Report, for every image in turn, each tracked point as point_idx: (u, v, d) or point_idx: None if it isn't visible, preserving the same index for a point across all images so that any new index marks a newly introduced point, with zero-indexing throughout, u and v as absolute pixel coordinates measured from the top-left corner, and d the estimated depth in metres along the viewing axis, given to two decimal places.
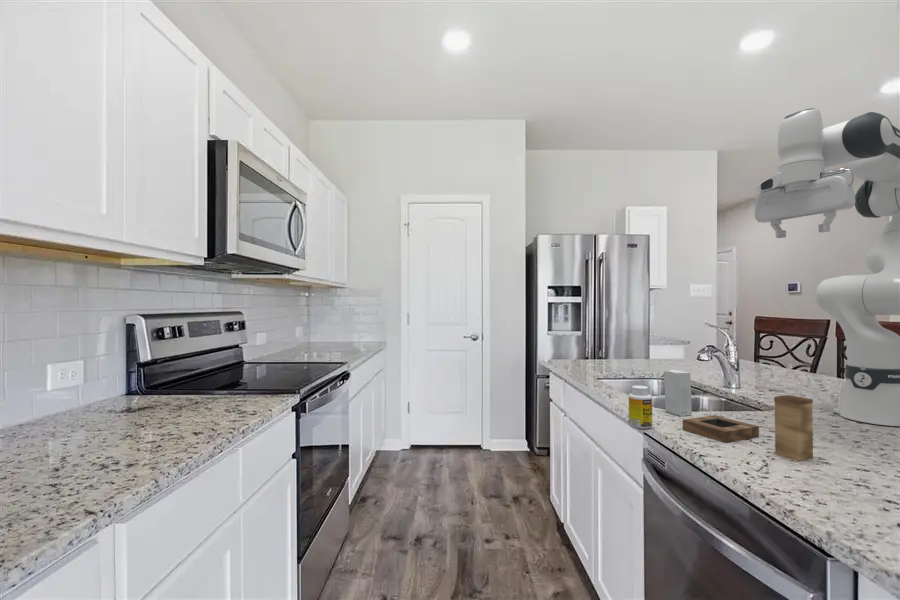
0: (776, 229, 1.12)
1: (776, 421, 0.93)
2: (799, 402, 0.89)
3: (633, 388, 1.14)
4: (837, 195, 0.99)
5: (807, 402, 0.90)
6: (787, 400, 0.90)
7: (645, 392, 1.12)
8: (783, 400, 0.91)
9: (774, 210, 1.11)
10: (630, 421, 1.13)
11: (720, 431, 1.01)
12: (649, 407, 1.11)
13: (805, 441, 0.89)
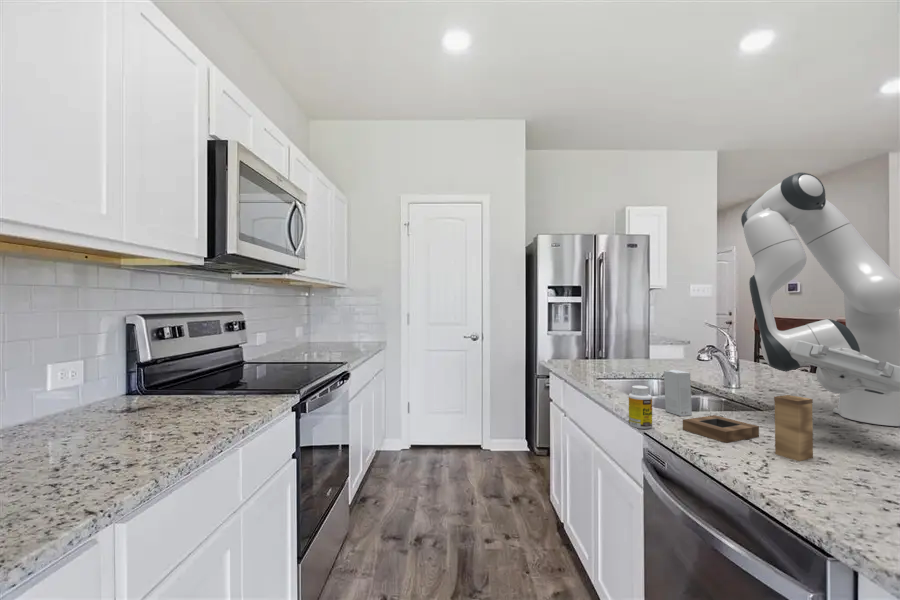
0: (883, 372, 0.89)
1: (776, 421, 0.93)
2: (799, 402, 0.89)
3: (633, 388, 1.14)
4: (798, 358, 1.02)
5: (807, 402, 0.90)
6: (787, 400, 0.90)
7: (645, 392, 1.12)
8: (783, 400, 0.91)
9: (876, 379, 0.93)
10: (630, 421, 1.13)
11: (720, 431, 1.01)
12: (649, 407, 1.11)
13: (805, 441, 0.89)
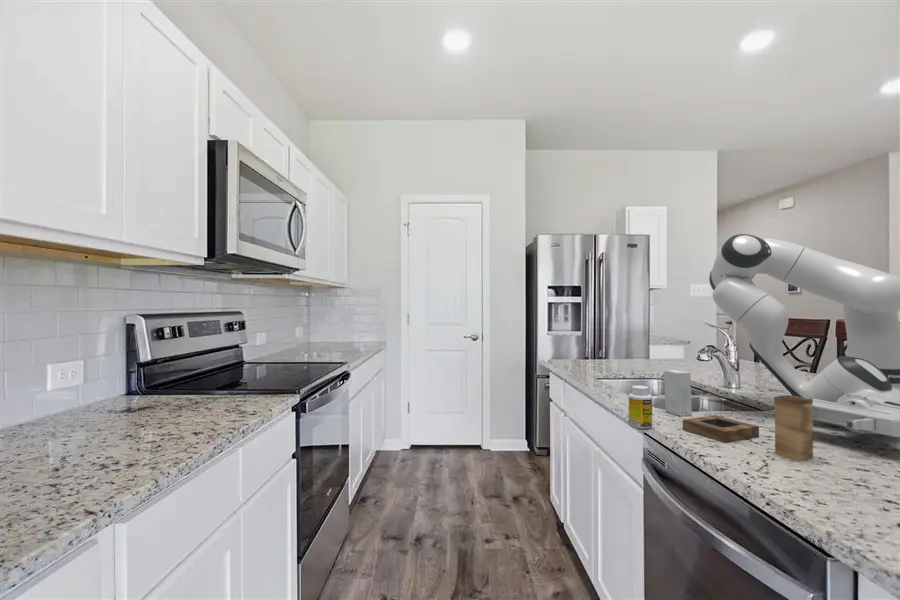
0: None
1: (776, 421, 0.93)
2: (799, 402, 0.89)
3: (633, 388, 1.14)
4: None
5: (807, 402, 0.90)
6: (787, 400, 0.90)
7: (645, 392, 1.12)
8: (783, 400, 0.91)
9: None
10: (630, 421, 1.13)
11: (720, 431, 1.01)
12: (649, 407, 1.11)
13: (805, 441, 0.89)
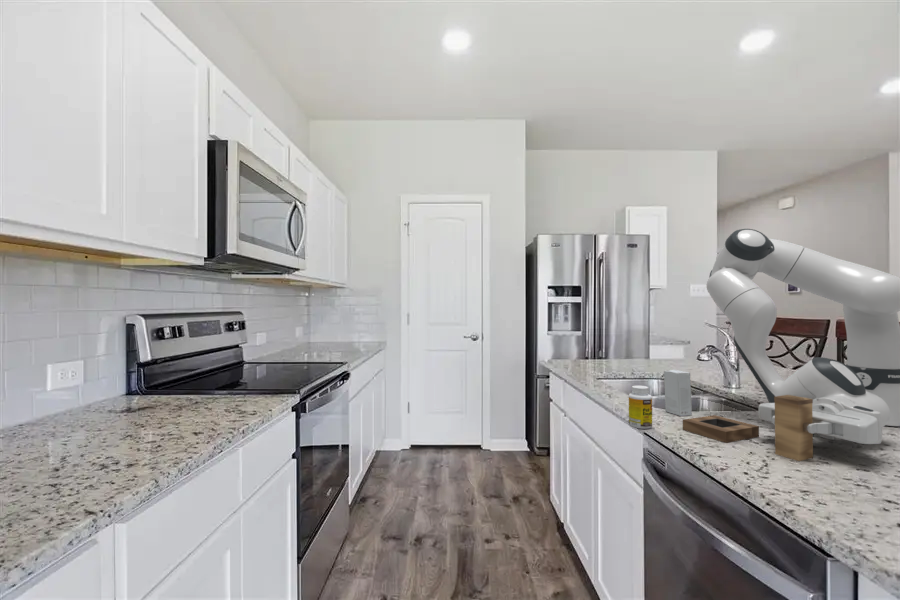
0: None
1: (776, 421, 0.93)
2: (799, 402, 0.89)
3: (633, 388, 1.14)
4: None
5: (807, 402, 0.90)
6: (787, 400, 0.90)
7: (645, 392, 1.12)
8: (783, 400, 0.91)
9: None
10: (630, 421, 1.13)
11: (720, 431, 1.01)
12: (649, 407, 1.11)
13: (805, 441, 0.89)
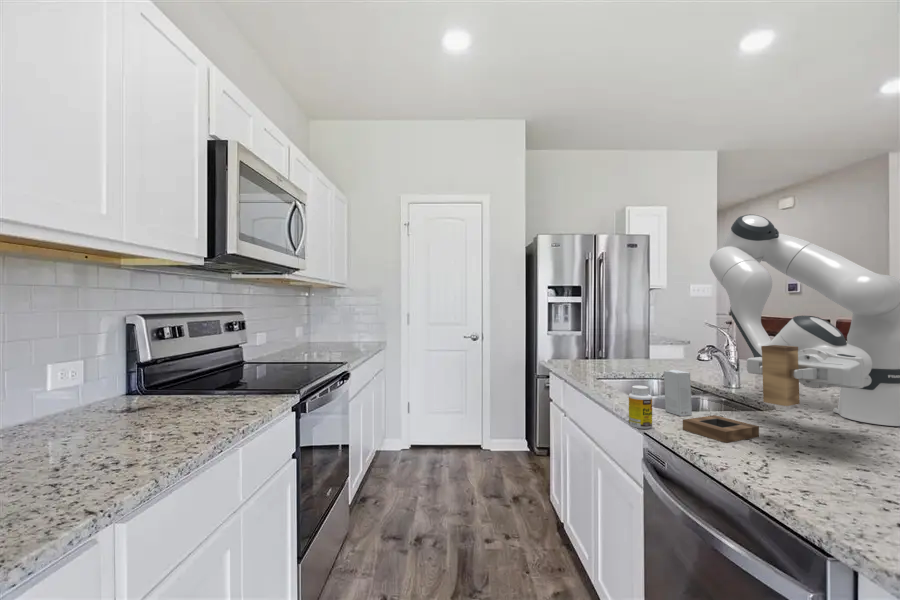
0: None
1: (763, 370, 0.95)
2: (785, 349, 0.91)
3: (633, 388, 1.14)
4: None
5: (793, 349, 0.92)
6: (774, 348, 0.93)
7: (645, 392, 1.12)
8: (770, 348, 0.94)
9: None
10: (630, 421, 1.13)
11: (720, 431, 1.01)
12: (649, 407, 1.11)
13: (791, 387, 0.92)
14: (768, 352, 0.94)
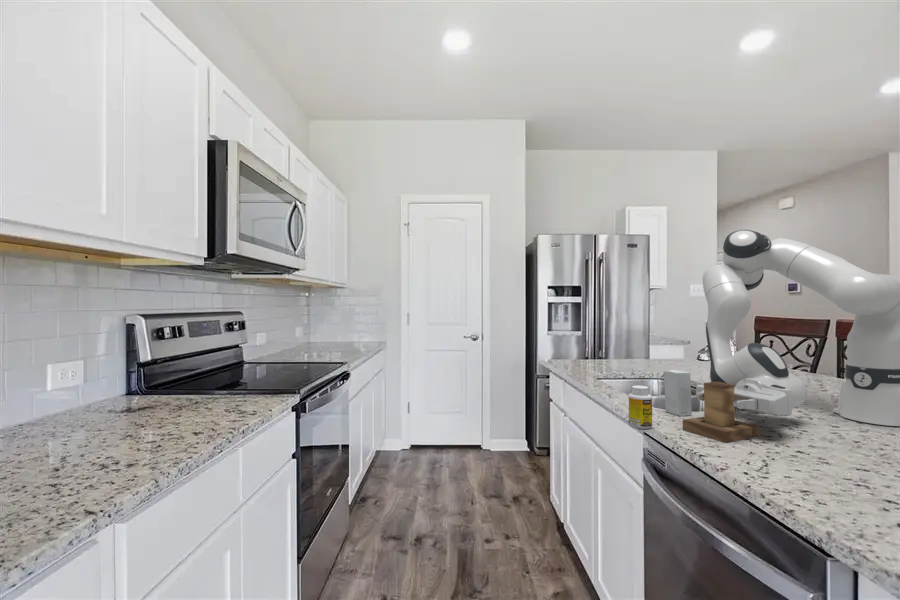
0: None
1: (705, 404, 1.09)
2: (722, 387, 1.05)
3: (633, 388, 1.14)
4: None
5: (729, 387, 1.06)
6: (713, 385, 1.07)
7: (645, 392, 1.12)
8: (710, 385, 1.07)
9: None
10: (630, 421, 1.13)
11: (720, 431, 1.01)
12: (649, 407, 1.11)
13: (727, 420, 1.06)
14: (708, 389, 1.08)
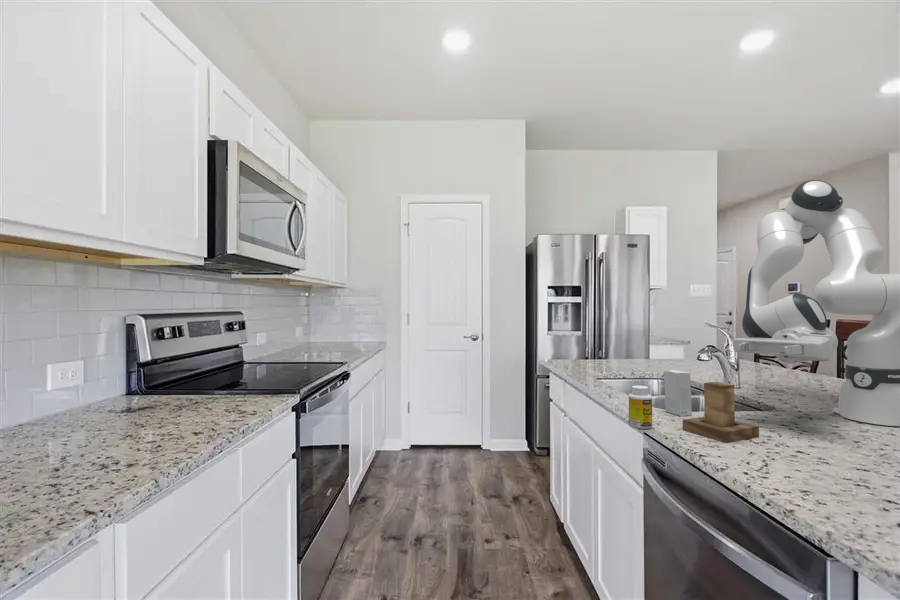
0: None
1: (705, 404, 1.09)
2: (722, 387, 1.05)
3: (633, 388, 1.14)
4: None
5: (729, 387, 1.06)
6: (713, 385, 1.07)
7: (645, 392, 1.12)
8: (710, 385, 1.07)
9: None
10: (630, 421, 1.13)
11: (720, 431, 1.01)
12: (649, 407, 1.11)
13: (727, 420, 1.06)
14: (709, 389, 1.08)
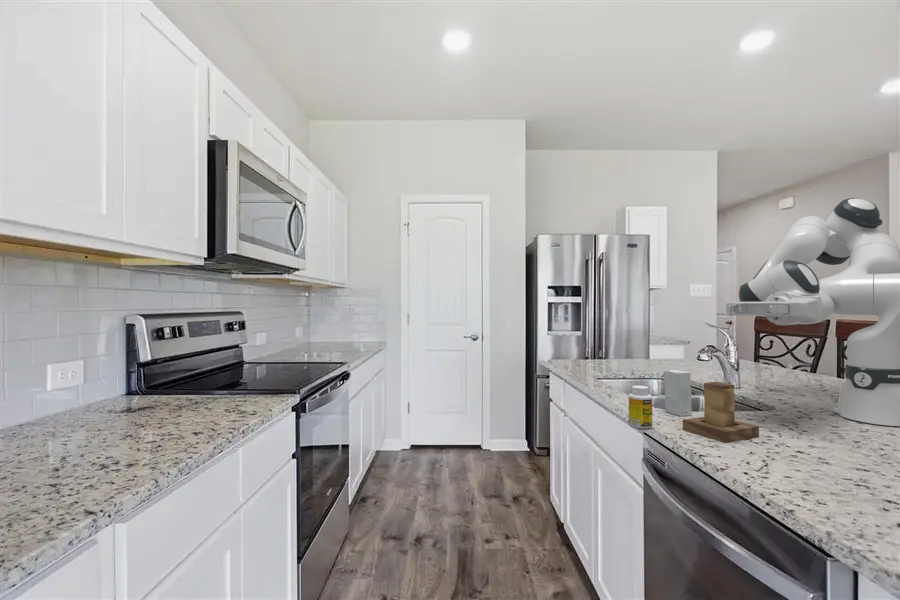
0: None
1: (705, 404, 1.09)
2: (722, 387, 1.05)
3: (633, 388, 1.14)
4: None
5: (729, 387, 1.06)
6: (713, 385, 1.07)
7: (645, 392, 1.12)
8: (710, 385, 1.07)
9: None
10: (630, 421, 1.13)
11: (720, 431, 1.01)
12: (649, 407, 1.11)
13: (727, 420, 1.06)
14: (709, 389, 1.08)
